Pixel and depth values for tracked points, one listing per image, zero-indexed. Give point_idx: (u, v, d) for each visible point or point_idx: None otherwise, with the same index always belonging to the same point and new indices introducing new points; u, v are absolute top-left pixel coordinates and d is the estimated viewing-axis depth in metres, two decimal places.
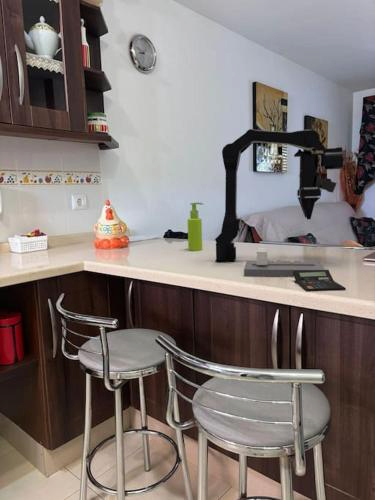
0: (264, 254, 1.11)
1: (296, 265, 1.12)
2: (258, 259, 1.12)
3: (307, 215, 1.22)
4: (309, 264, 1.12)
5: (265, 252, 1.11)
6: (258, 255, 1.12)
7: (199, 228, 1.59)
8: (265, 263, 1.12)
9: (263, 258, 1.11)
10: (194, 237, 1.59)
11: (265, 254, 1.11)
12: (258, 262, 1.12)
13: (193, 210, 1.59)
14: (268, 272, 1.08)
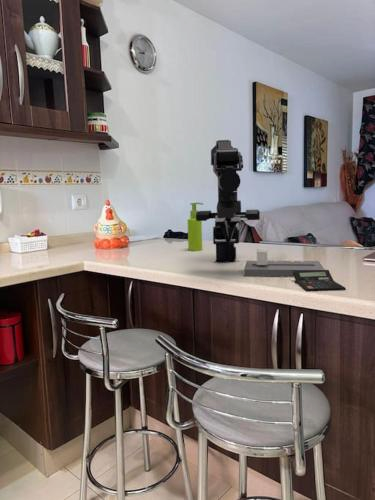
0: (264, 254, 1.11)
1: (296, 265, 1.12)
2: (258, 259, 1.12)
3: None
4: (309, 264, 1.12)
5: (265, 252, 1.11)
6: (258, 255, 1.12)
7: (199, 228, 1.59)
8: (265, 263, 1.12)
9: (263, 258, 1.11)
10: (194, 237, 1.59)
11: (265, 254, 1.11)
12: (258, 262, 1.12)
13: (193, 210, 1.59)
14: (268, 272, 1.08)
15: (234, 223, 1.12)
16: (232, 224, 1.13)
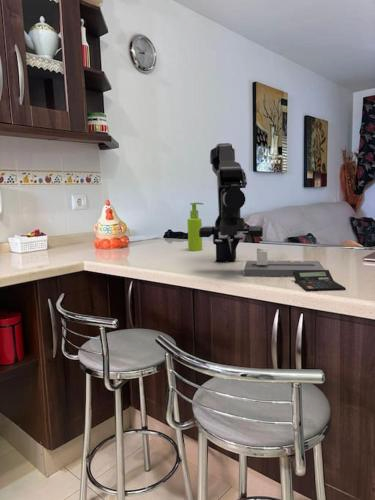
0: (264, 254, 1.11)
1: (296, 265, 1.12)
2: (258, 259, 1.12)
3: None
4: (309, 264, 1.12)
5: (265, 252, 1.11)
6: (258, 255, 1.12)
7: (199, 228, 1.59)
8: (265, 263, 1.12)
9: (263, 258, 1.11)
10: (194, 237, 1.59)
11: (265, 254, 1.11)
12: (258, 262, 1.12)
13: (193, 210, 1.59)
14: (268, 272, 1.08)
15: (237, 240, 1.13)
16: (235, 240, 1.13)
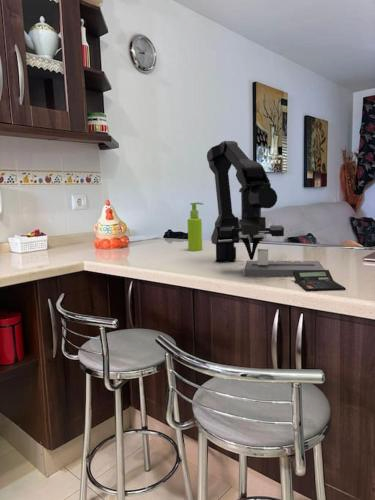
0: (265, 254, 1.11)
1: (296, 265, 1.12)
2: (259, 259, 1.12)
3: None
4: (309, 264, 1.12)
5: (266, 252, 1.11)
6: (259, 255, 1.12)
7: (199, 228, 1.59)
8: (266, 263, 1.11)
9: (264, 258, 1.11)
10: (194, 237, 1.59)
11: (266, 254, 1.11)
12: (259, 262, 1.12)
13: (193, 210, 1.59)
14: (268, 272, 1.08)
15: (258, 239, 1.11)
16: (256, 240, 1.12)
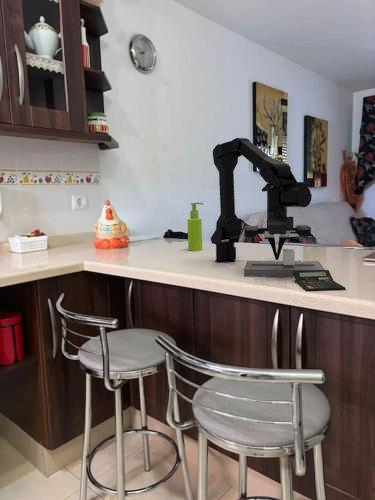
0: (292, 254, 1.10)
1: (296, 265, 1.12)
2: (285, 259, 1.10)
3: None
4: (309, 264, 1.12)
5: (292, 252, 1.10)
6: (285, 255, 1.10)
7: (199, 228, 1.59)
8: (292, 263, 1.10)
9: (290, 258, 1.10)
10: (194, 237, 1.59)
11: (293, 254, 1.10)
12: (285, 262, 1.10)
13: (193, 210, 1.59)
14: (268, 272, 1.08)
15: (284, 239, 1.10)
16: (282, 240, 1.10)
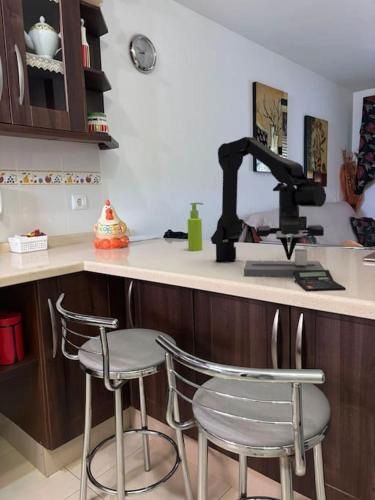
0: (304, 254, 1.09)
1: (296, 265, 1.12)
2: (298, 259, 1.09)
3: None
4: (309, 264, 1.12)
5: (305, 252, 1.09)
6: (297, 255, 1.09)
7: (199, 228, 1.59)
8: (305, 263, 1.09)
9: (303, 258, 1.09)
10: (194, 237, 1.59)
11: (305, 254, 1.09)
12: (297, 262, 1.10)
13: (193, 210, 1.59)
14: (268, 272, 1.08)
15: (297, 239, 1.09)
16: (294, 240, 1.10)
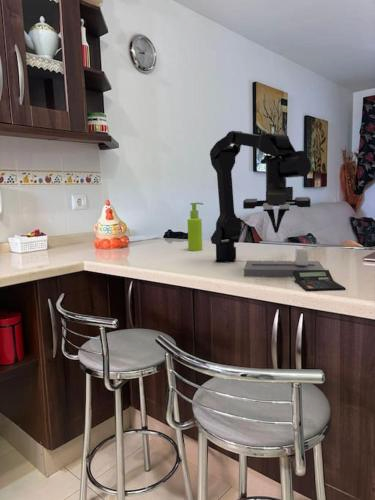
0: (305, 254, 1.09)
1: (296, 265, 1.12)
2: (299, 259, 1.09)
3: None
4: (309, 264, 1.12)
5: (306, 252, 1.09)
6: (298, 255, 1.09)
7: (199, 228, 1.59)
8: (306, 263, 1.09)
9: (304, 258, 1.09)
10: (194, 237, 1.59)
11: (306, 254, 1.09)
12: (298, 262, 1.10)
13: (193, 210, 1.59)
14: (268, 272, 1.08)
15: (283, 211, 1.09)
16: (281, 212, 1.09)
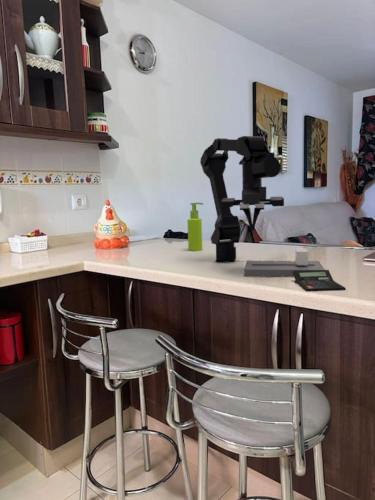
0: (305, 254, 1.09)
1: (296, 265, 1.12)
2: (299, 259, 1.09)
3: None
4: (309, 264, 1.12)
5: (306, 252, 1.09)
6: (298, 255, 1.09)
7: (199, 228, 1.59)
8: (306, 263, 1.09)
9: (304, 258, 1.09)
10: (194, 237, 1.59)
11: (306, 254, 1.09)
12: (298, 262, 1.10)
13: (193, 210, 1.59)
14: (268, 272, 1.08)
15: (259, 209, 1.14)
16: (257, 211, 1.14)
